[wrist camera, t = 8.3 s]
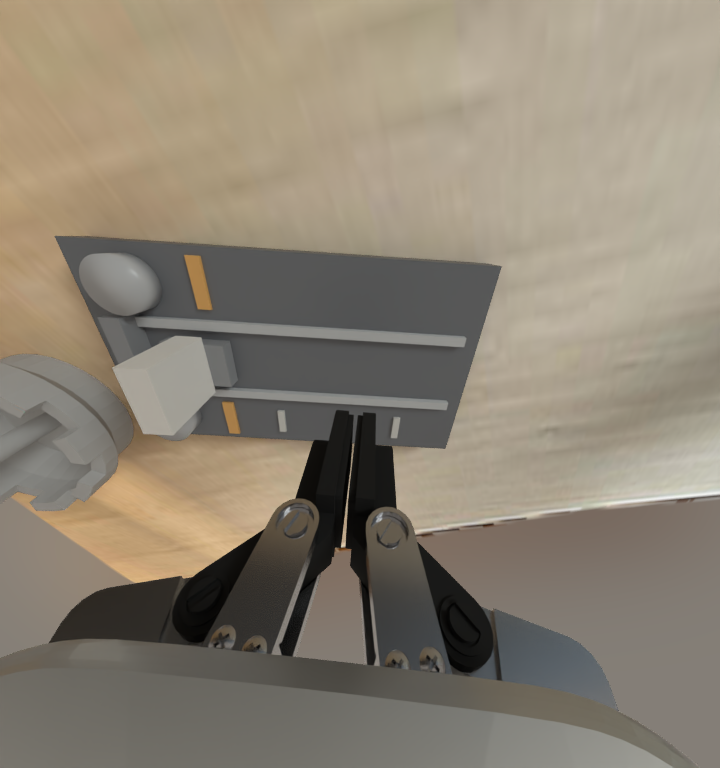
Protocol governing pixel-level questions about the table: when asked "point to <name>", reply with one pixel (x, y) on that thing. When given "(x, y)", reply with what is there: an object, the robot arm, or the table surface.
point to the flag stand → (57, 431)
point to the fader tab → (175, 380)
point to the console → (297, 331)
